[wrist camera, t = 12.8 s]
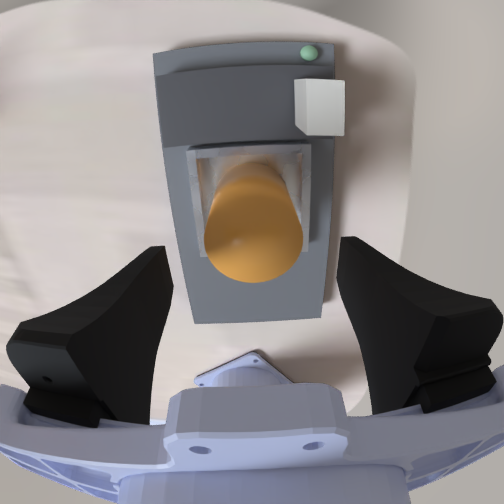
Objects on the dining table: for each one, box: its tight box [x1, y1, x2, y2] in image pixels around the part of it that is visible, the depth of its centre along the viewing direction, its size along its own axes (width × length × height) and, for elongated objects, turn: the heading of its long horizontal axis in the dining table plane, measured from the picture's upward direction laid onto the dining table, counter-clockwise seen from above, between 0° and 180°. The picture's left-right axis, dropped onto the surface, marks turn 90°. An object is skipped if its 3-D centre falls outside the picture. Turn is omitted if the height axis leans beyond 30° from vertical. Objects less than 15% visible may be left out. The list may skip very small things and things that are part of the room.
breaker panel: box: [153, 42, 335, 324], centre depth 19 cm, size 20×10×3 cm, turn 3°
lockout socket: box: [186, 141, 311, 257], centre depth 18 cm, size 7×7×1 cm
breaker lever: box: [294, 79, 345, 136], centre depth 13 cm, size 2×2×3 cm
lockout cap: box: [204, 163, 303, 283], centre depth 16 cm, size 4×4×6 cm
